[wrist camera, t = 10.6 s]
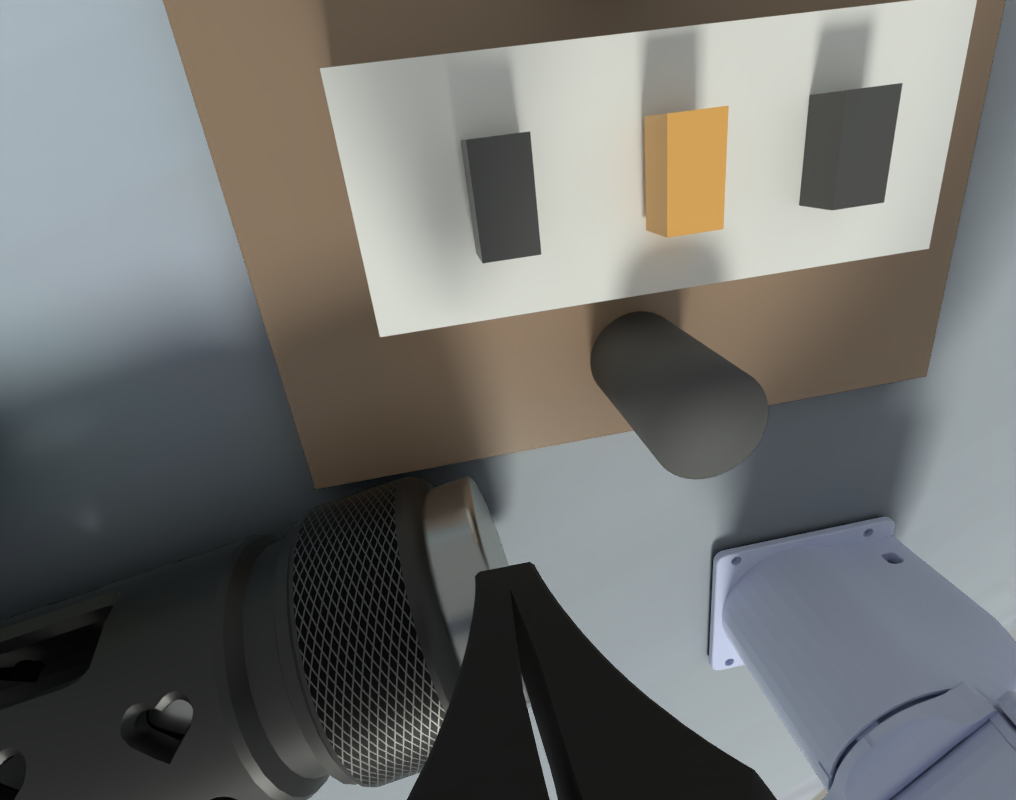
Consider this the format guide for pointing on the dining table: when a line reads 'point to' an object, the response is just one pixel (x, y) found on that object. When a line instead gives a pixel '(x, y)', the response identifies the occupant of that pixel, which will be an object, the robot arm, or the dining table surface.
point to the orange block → (686, 171)
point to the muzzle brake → (254, 659)
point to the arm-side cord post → (679, 395)
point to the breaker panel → (522, 350)
